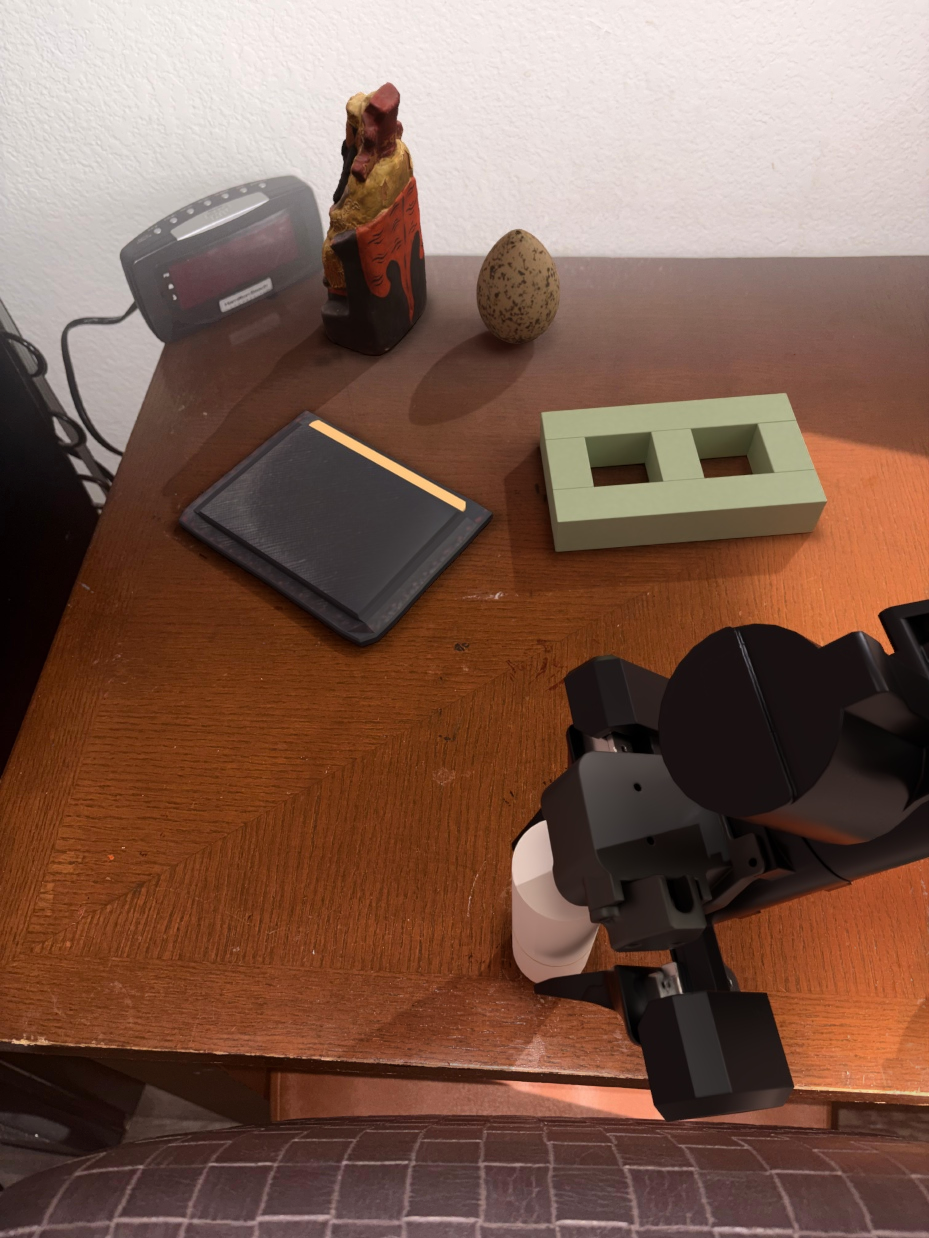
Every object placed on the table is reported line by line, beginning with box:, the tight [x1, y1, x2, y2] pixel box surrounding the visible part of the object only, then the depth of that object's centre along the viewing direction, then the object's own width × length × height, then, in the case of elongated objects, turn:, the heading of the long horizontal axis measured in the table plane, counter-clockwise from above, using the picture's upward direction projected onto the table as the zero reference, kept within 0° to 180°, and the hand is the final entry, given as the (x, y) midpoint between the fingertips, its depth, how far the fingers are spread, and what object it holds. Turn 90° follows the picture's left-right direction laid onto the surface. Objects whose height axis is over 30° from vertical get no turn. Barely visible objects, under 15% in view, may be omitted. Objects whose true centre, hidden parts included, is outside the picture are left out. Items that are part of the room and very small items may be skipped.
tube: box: [511, 820, 601, 984], centre depth 41 cm, size 4×4×15 cm
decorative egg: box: [475, 228, 561, 344], centre depth 71 cm, size 7×7×10 cm
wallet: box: [177, 409, 494, 648], centre depth 64 cm, size 20×2×15 cm
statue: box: [320, 81, 428, 356], centre depth 69 cm, size 12×8×20 cm, turn 149°
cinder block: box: [539, 392, 828, 553], centre depth 64 cm, size 11×19×4 cm, turn 93°
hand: (528, 916), depth 41 cm, fingers open, 6 cm apart
